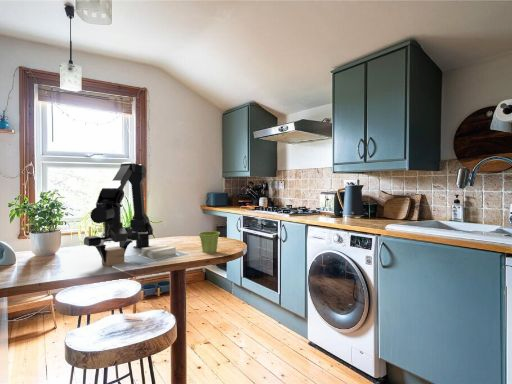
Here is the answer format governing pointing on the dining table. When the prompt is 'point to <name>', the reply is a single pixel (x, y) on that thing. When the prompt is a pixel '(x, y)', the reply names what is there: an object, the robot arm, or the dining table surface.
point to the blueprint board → (143, 259)
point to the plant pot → (209, 241)
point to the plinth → (158, 251)
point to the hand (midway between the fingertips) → (113, 260)
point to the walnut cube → (114, 256)
